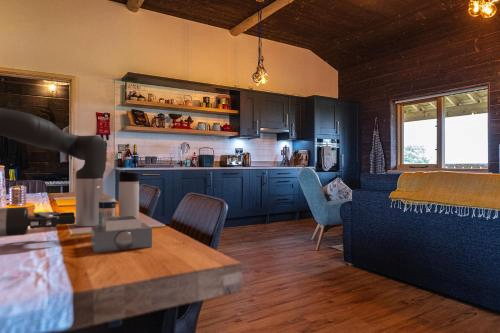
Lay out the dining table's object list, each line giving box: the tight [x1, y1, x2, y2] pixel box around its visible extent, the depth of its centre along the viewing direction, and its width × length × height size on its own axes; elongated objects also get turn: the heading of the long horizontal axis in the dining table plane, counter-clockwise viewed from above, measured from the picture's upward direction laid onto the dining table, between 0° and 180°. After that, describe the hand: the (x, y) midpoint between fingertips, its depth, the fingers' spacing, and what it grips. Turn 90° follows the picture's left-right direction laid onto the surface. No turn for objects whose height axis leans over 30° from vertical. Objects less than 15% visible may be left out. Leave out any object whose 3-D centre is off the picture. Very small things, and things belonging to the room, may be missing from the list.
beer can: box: [98, 196, 117, 226], centre depth 101 cm, size 5×5×12 cm
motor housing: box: [90, 215, 153, 254], centre depth 90 cm, size 11×14×8 cm
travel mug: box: [118, 171, 140, 218], centre depth 110 cm, size 6×7×20 cm
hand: (74, 217), depth 97 cm, fingers open, 8 cm apart
